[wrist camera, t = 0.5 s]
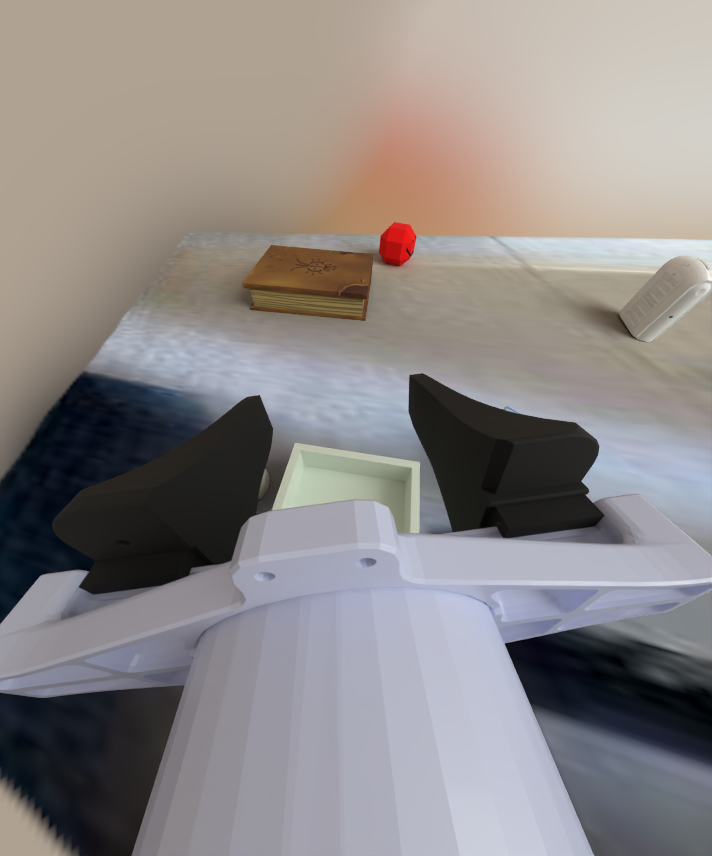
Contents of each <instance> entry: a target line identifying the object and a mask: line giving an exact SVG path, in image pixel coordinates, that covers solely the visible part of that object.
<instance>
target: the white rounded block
mask: <svg viewBox="0 0 712 856" xmlns="http://www.w3.org/2000/svg"><path fill="white" fill-rule="evenodd" d="M711 292H712V267H711V266H710V265H709V264H708V263H707V262H706V261H704V260H702V259H699V258H695V257H689V256H678V257H675V258H673V259H671V260H670V261H668V262H667V263H665V264H664V265H663V266H662V267H661V268H660V269H659V270H658V271H657V272H656V273H655V275H654V276H653V277H652V278H651V279H650V280H649V281H648V282H647V283H646V284H645V285H644V286H643V287H642V288H641V289H640V291H639V292H638V293H637V294H636V295H635V296H634V297H633V298H632V299H631V300H630V301H629V302H628V303H627V304H626V305H625V306H624V307H623V309H622V310H621V311H620V312H619V315H620V317H621V319H622V320H623V322H624V323H625V325H626V326H627V328H628V330H629V331H630V333H631V334H632V335H633V336H634V337H635V338H636V339H637V340H640V341H645V342H650V341H652V340H655V339H657V338H658V337H659V336H661V335H662V334H663V333H664V332H665V331H667V330H668V329H669V328H670V327H671V326H672V325H674V324H675V323H676V322H677V321H678V320H679V319H681V318H682V317H683V316H684V315H685V314H687V313H688V312H689V311H690V310H691V309H693V308H694V307H695V306H696V305H697V304H698V303H699V302H701V301H702V300H703V299H704V298H705V297H707V296H708V295H709V294H710V293H711Z"/></svg>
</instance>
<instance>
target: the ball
mask: <svg viewBox="0 0 712 856" xmlns="http://www.w3.org/2000/svg"><path fill="white" fill-rule="evenodd" d="M415 241H416V235H415V233H414V232H413V230H412V228H411V226H410V225H408V224H402V223H396V222H394V223H393V224H392V225H391V226H390V227H389V228H388V229H387V230H386V231H385V232H384V233H383V234H382V235H381V238H380V248H379V253H380V255H381V256H382V258H383V260H384V261H385V263H387V264H392V265H397V266H401V265H402V264H403V263H405V262H406V261H407V260H409V259H410V257H411V255H412V254H413V252H414V247H415Z"/></svg>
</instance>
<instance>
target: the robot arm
mask: <svg viewBox="0 0 712 856" xmlns="http://www.w3.org/2000/svg"><path fill="white" fill-rule="evenodd" d="M409 414H410V417H411V421H412V424H413V427H414V429H415V431H416V433H417V435H418V437H419V440H420V442H421V444H422V446H423V448H424V450H425V452H426V454H427V456H428V458H429V460H430V463H431V465H432V467H433V470H434V473H435V476H436V479H437V482H438V485H439V488H440V491H441V494H442V497H443V500H444V503H445V507H446V510H447V514H448V517H449V520H450V524H451V527H452V531H453V532H452V533H445V534H421V533H403V532H397V530H396V525H395V521H394V517H393V515H392V513H391V511H390V509H389V507H387V506H385V505H382V504H380V503H378V502H375V501H373V500H360V499H353V500H345V501H338V502H331V503H323V504H316V505H309V506H301V507H294V508H286V509H279V510H272V511H267V512H264V513H261V514H258V515H256V509H257V503H258V496H259V490H260V486H261V481H262V478H263V474H264V471H265V467H266V463H267V460H268V456H269V452H270V449H271V443H272V434H273V428H272V425H271V422H270V420H269V417H268V415H267V412H266V410H265V407H264V405H263V402H262V400H261V397H260V395H258V396H251V397H246V398H245V399H243V400H242V401H240V402H239V403H238V404H237V405H235V406H234V407H233V408H232V409H230V410H229V411H228V412H227V413H226V414H224V415H223V416H222V417H221V418H219V419H218V420H217V421H216V422H214V423H213V424H212V425H210V426H209V427H208V428H206V429H205V430H204V431H202V432H201V433H200V434H198V435H197V436H195V437H194V438H192V439H191V440H189V441H187V442H186V443H184V444H183V445H181V446H179V447H178V448H176V449H174V450H172V451H170V452H168V453H167V454H165V455H163V456H161V457H159V458H157V459H155V460H153V461H151V462H149V463H147V464H145V465H143V466H141V467H138V468H136V469H134V470H132V471H129V472H127V473H125V474H122V475H120V476H117V477H115V478H112V479H110V480H107V481H104V482H102V483H99V484H97V485H94V486H91V487H89V488H86V489H83V490H81V491H80V492H79V493H78V494H77V495H76V496H75V497H74V498H73V500H72V501H71V502H70V503H69V504H68V505H67V506H66V507H65V508H64V509H63V510H62V511H61V512H60V513H59V514H58V515H57V517H56V518H55V519H54V521H53V523H52V524H53V530H54V532H55V533H56V535H57V536H58V537H59V538H60V539H61V540H62V541H64V542H65V543H66V544H68V545H70V546H71V547H73V548H75V549H76V550H78V551H80V552H81V553H83V554H85V555H86V556H88V557H89V558H91V559H93V560H94V561H96V562H95V564H94V565H93V567H92V568H91V570H90V571H89V572H88V571H84V570H72V571H65V572H57V573H50V574H44V575H42V576H40V577H39V578H38V579H37V581H36V582H35V583H34V584H33V586H32V587H31V588H30V589H29V590H28V592H27V593H26V594H25V595H24V596H23V598H22V599H21V600H20V601H19V602H18V604H17V605H16V606H15V607H14V609H13V610H12V611H11V612H10V613H9V615H8V616H7V617H6V618H5V619H4V621H3V622H2V623H1V624H0V692H1V693H9V694H16V695H24V696H31V697H39V698H47V697H55V696H63V695H71V694H79V693H89V692H99V691H110V690H123V689H135V688H150V687H164V686H178V685H185V687H184V690H183V693H182V697H181V700H180V703H179V706H178V709H177V713H176V716H175V719H174V722H173V725H172V729H171V732H170V735H169V738H168V741H167V745H166V748H165V751H164V754H163V757H162V760H161V764H160V767H159V770H158V773H157V776H156V780H155V783H154V786H153V789H152V792H151V796H150V799H149V802H148V805H147V808H146V812H145V815H144V818H143V821H142V824H141V828H140V831H139V834H138V837H137V840H136V844H135V847H134V850H133V853H132V856H594V855H593V853H592V850H591V848H590V845H589V843H588V841H587V838H586V836H585V834H584V831H583V829H582V826H581V824H580V822H579V819H578V817H577V815H576V812H575V810H574V808H573V805H572V803H571V800H570V798H569V796H568V793H567V791H566V789H565V786H564V784H563V782H562V779H561V777H560V774H559V772H558V770H557V767H556V765H555V763H554V760H553V758H552V755H551V753H550V751H549V748H548V746H547V744H546V741H545V739H544V737H543V734H542V732H541V729H540V727H539V725H538V722H537V720H536V718H535V715H534V713H533V711H532V708H531V706H530V703H529V701H528V699H527V696H526V694H525V692H524V689H523V687H522V684H521V682H520V680H519V677H518V675H517V673H516V670H515V668H514V666H513V663H512V661H511V658H510V656H509V654H508V651H507V649H506V647H505V644H504V643H508V642H513V641H518V640H522V639H527V638H532V637H537V636H542V635H546V634H551V633H556V632H561V631H565V630H570V629H575V628H580V627H585V626H590V625H595V624H600V623H605V622H611V621H616V620H622V619H628V618H634V617H640V616H647V615H653V614H660V613H667V612H669V611H671V610H673V609H675V608H677V607H679V606H681V605H684V604H686V603H688V602H690V601H692V600H694V599H696V598H698V597H700V596H702V595H704V594H706V593H708V592H710V591H712V556H711V555H710V554H709V553H708V552H706V551H705V550H704V549H703V548H702V547H701V546H699V545H698V544H697V543H696V542H695V541H694V540H692V539H691V538H690V537H689V536H688V535H687V534H685V533H684V532H683V531H682V530H681V529H680V528H678V527H677V526H676V525H675V524H674V523H673V522H671V521H670V520H669V519H668V518H667V517H666V516H664V515H663V514H662V513H661V512H660V511H659V510H657V509H656V508H655V507H654V506H653V505H652V504H650V503H649V502H648V501H647V500H646V499H645V498H643V497H642V496H641V495H640V494H631V495H623V496H616V497H609V498H604V499H600V500H598V501H596V502H594V503H592V502H591V501H590V499H589V498H588V497H587V496H586V495H585V494H588V493H589V489H588V488H587V487H586V486H585V485H584V484H583V483H582V482H581V481H582V479H583V478H584V476H585V475H586V473H587V472H588V471H589V469H590V468H591V466H592V465H593V463H594V462H595V460H596V458H597V456H598V452H599V444H598V442H597V440H596V439H595V438H594V437H593V436H591V435H590V434H589V433H588V432H586V431H585V430H584V429H583V428H581V427H580V426H579V425H578V424H576V423H574V422H566V421H558V420H551V419H543V418H538V417H533V416H527V415H522V414H518V413H514V412H510V411H506V410H503V409H499V408H495V407H492V406H489V405H486V404H484V403H481V402H478V401H476V400H473V399H471V398H468V397H466V396H464V395H462V394H460V393H458V392H456V391H454V390H452V389H450V388H448V387H446V386H445V385H443V384H441V383H439V382H437V381H436V380H434V379H432V378H430V377H429V376H427V375H425V374H423V373H421V374H414V375H410V377H409Z"/></svg>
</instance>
